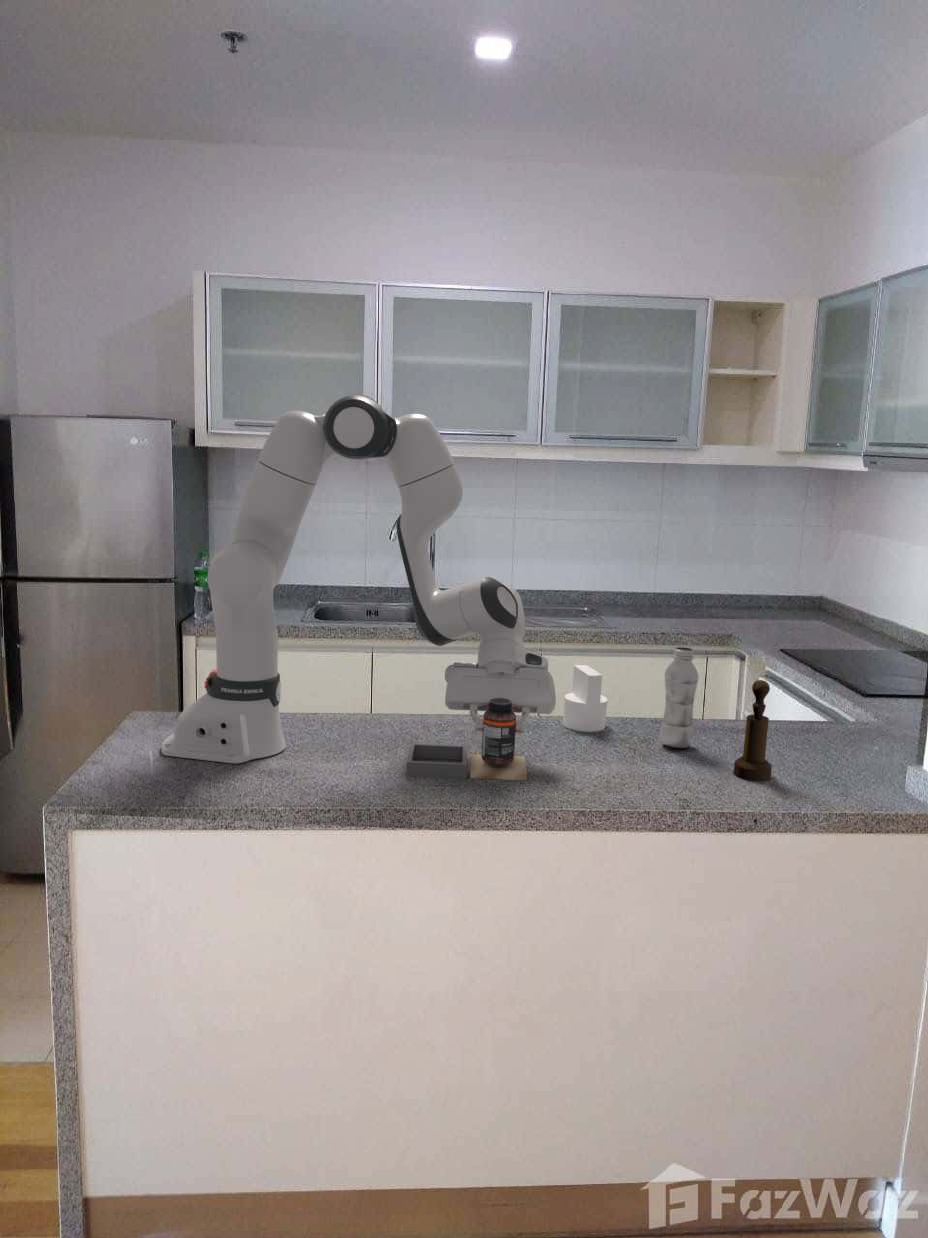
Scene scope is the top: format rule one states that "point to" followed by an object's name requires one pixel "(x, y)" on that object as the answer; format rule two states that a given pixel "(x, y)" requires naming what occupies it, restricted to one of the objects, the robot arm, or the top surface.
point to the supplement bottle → (499, 732)
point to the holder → (437, 767)
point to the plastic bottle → (679, 700)
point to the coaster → (498, 769)
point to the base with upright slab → (585, 701)
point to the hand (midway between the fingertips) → (499, 730)
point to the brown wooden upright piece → (755, 740)
